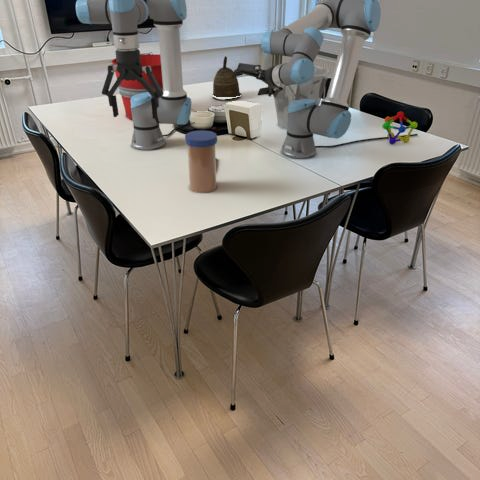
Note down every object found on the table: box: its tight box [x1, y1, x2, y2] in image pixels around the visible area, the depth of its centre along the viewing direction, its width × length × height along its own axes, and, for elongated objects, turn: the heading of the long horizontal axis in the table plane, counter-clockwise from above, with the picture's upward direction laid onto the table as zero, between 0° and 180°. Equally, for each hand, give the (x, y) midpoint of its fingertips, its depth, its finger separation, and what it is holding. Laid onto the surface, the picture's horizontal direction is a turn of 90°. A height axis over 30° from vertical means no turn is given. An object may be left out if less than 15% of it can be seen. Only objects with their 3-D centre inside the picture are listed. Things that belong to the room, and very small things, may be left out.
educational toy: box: [382, 110, 418, 145], centre depth 207 cm, size 16×13×15 cm
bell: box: [212, 56, 242, 97], centre depth 278 cm, size 19×26×20 cm
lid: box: [184, 129, 218, 147], centre depth 158 cm, size 11×11×2 cm
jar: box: [186, 144, 217, 194], centre depth 163 cm, size 10×10×20 cm
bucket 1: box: [108, 51, 163, 121], centre depth 240 cm, size 35×35×30 cm
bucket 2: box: [273, 65, 330, 130], centre depth 226 cm, size 30×30×28 cm
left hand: (135, 116), depth 150 cm, fingers open, 13 cm apart
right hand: (246, 83), depth 177 cm, fingers open, 13 cm apart
